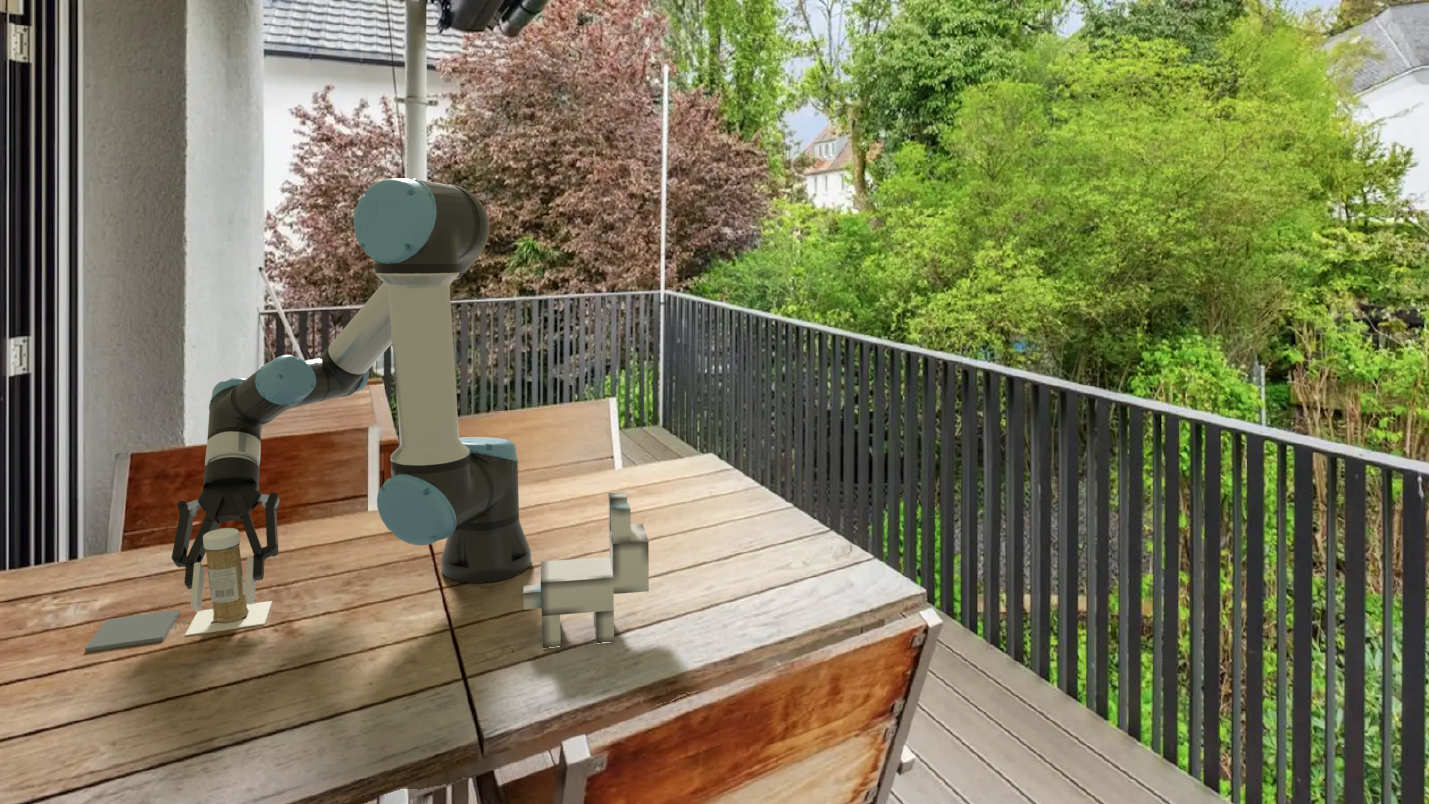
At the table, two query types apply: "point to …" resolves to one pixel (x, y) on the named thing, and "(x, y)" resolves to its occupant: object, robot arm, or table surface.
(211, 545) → the sprinkles bottle
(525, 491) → the table surface
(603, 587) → the toy llama
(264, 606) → the tile
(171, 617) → the coaster
